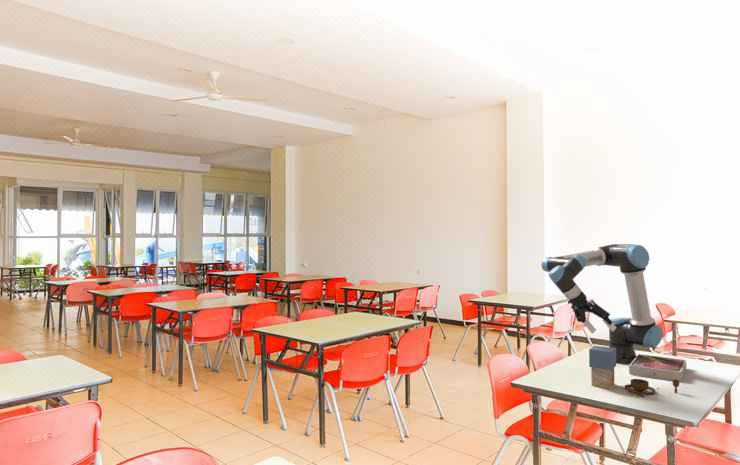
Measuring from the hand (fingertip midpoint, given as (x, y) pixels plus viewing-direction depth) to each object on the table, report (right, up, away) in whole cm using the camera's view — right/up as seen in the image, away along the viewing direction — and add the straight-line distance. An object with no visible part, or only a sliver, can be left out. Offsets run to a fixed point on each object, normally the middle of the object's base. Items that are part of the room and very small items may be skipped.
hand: (604, 330), depth 234 cm
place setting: (+12, -24, -17) cm, 32 cm away
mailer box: (-3, -24, -6) cm, 24 cm away
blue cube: (-3, -15, -6) cm, 16 cm away
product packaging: (+35, -24, +16) cm, 45 cm away
